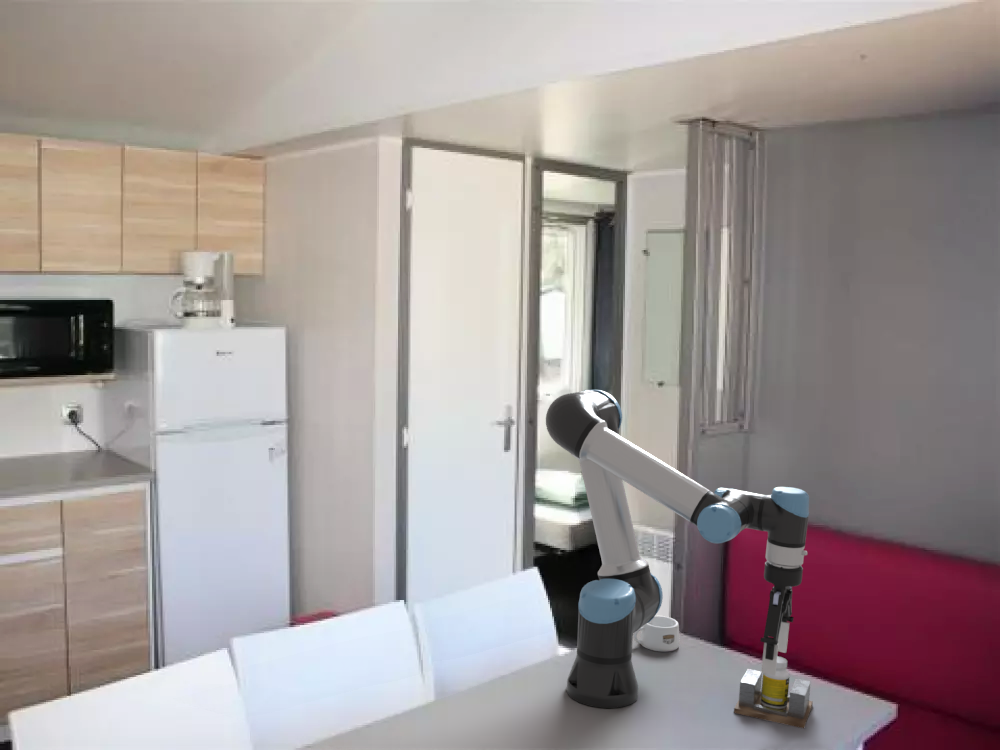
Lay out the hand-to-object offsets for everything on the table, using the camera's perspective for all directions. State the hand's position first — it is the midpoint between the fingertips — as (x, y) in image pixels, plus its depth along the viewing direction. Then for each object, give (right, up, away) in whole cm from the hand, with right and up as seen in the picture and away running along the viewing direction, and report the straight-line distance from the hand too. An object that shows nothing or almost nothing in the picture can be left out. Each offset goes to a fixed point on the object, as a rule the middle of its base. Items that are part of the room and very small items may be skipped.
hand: (774, 662), depth 203 cm
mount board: (0, -10, +1) cm, 10 cm away
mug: (-19, -6, +34) cm, 40 cm away
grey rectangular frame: (0, -10, +1) cm, 10 cm away
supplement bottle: (0, -9, +1) cm, 9 cm away
